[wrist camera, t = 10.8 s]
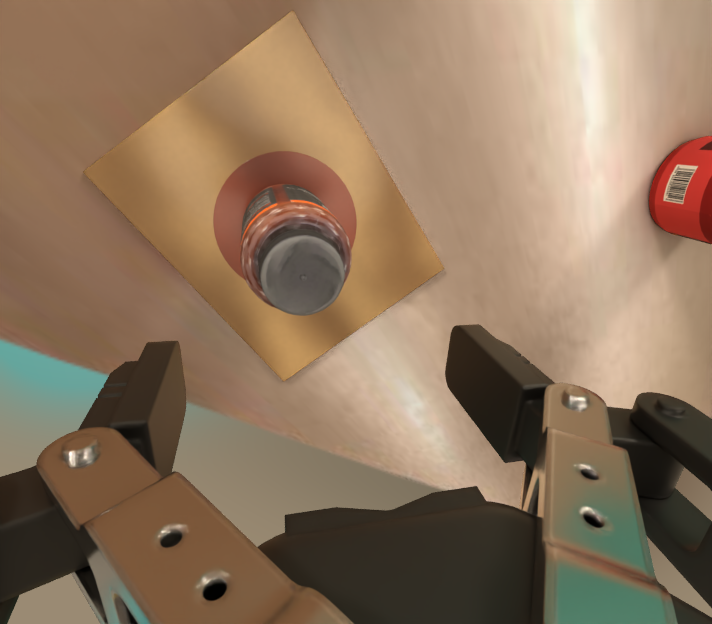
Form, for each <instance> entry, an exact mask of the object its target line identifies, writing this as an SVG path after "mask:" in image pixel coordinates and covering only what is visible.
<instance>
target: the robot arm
mask: <svg viewBox="0 0 712 624" xmlns="http://www.w3.org/2000/svg"><path fill="white" fill-rule="evenodd" d="M445 376H446V382H447V385H448V388H449V389H450V391H451V392H452V393H453V395H454V396H455V397H456V399H457V400H458V401H459V403H460V404H461V405H462V407H463V408H464V409H465V411H466V412H467V413H468V415H469V416H470V417H471V419H472V420H473V421H474V423H475V424H476V425H477V427H478V428H479V429H480V431H481V432H482V433H483V435H484V436H485V437H486V439H487V440H488V441H489V443H490V444H491V445H492V447H493V448H494V449H495V450H496V452H497V453H498V454H499V456H500V457H501V458H502V460H503V461H504V462H505V463H508V462H515V461H523V460H524V461H525V463H526V464H525V468H524V472H523V477H522V486H521V495H520V504H519V509H518V508H515V507H512V506H509V505H505V504H501V503H495V502H488V501H486V500H485V499H484V497H483V495H482V494H481V492H480V491H479V489H478V487H477V486H474V487H468V488H461V489H454V490H448V491H442V492H435V493H431V494H429V495H427V496H424V497H422V498H420V499H417V500H415V501H412V502H410V503H408V504H405V505H403V506H400V507H398V508H396V509H393V510H388V511H382V510H367V509H353V508H338V507H336V508H329V509H322V510H315V511H309V512H302V513H295V514H289V515H285V533H283V534H280V535H278V536H276V537H274V538H272V539H270V540H268V541H266V542H265V543H263V544H261V545H260V546H259V547H256V546H255V545H254V544H253V543H252V542H251V541H250V540H249V539H248V538H247V537H246V536H245V535H244V534H243V533H242V532H241V531H240V530H239V529H238V528H237V527H236V526H235V525H234V524H233V523H232V522H231V521H229V520H228V519H227V518H226V517H225V516H224V515H223V514H222V513H221V512H220V511H219V510H218V509H217V508H216V507H215V506H214V505H213V504H212V503H211V502H210V501H209V500H208V499H207V498H206V497H205V496H204V495H203V494H202V493H200V492H199V491H198V490H197V489H196V488H195V487H194V486H193V485H192V484H191V483H190V482H189V481H188V480H187V479H186V478H185V477H184V476H183V475H182V474H180V473H178V472H172V468H173V463H174V459H175V455H176V450H177V446H178V442H179V437H180V433H181V429H182V425H183V420H184V416H185V411H186V389H185V381H184V374H183V366H182V358H181V351H180V345H179V342H178V341H163V342H148V343H147V344H146V346H145V348H144V350H143V352H142V354H141V356H140V358H139V360H138V361H131V362H125V363H124V364H122V365H121V366H120V367H118V368H117V369H116V370H114V371H113V372H111V374H110V375H109V377H108V379H107V381H106V382H105V384H104V388H102V389H101V391H100V393H99V394H98V398H96V400H95V402H94V403H93V405H92V407H91V408H90V410H89V412H88V414H87V415H86V417H85V419H84V421H83V422H82V424H81V426H80V428H79V429H78V431H75V432H72V433H69V434H67V435H65V436H63V437H61V438H59V439H57V440H56V441H54V442H53V443H51V444H50V445H49V446H47V447H46V448H45V449H44V450H43V451H42V453H41V454H40V455H39V457H38V459H37V465H36V466H34V467H31V468H28V469H25V470H22V471H19V472H16V473H12V474H9V475H6V476H2V477H0V624H7V623H8V620H9V618H10V616H11V613H12V611H13V609H14V606H15V604H16V602H17V599H18V597H19V595H20V594H22V593H25V592H27V591H30V590H32V589H34V588H37V587H39V586H41V585H44V584H46V583H49V582H51V581H53V580H56V579H58V578H61V577H63V576H65V575H68V574H70V573H71V574H72V575H73V577H74V579H75V581H76V583H77V584H78V586H79V588H80V590H81V591H82V593H83V595H84V596H85V598H86V600H87V602H88V603H89V605H90V607H91V608H92V610H93V612H94V614H95V615H96V617H97V619H98V621H99V622H100V624H712V618H711V617H709V616H708V615H706V614H705V613H703V612H701V611H699V610H698V609H696V608H694V607H692V606H691V605H689V604H687V603H685V602H684V601H682V600H680V599H679V598H677V597H675V596H673V595H672V594H670V593H669V592H668V591H667V589H666V588H665V587H664V586H663V585H661V584H659V582H658V581H657V579H656V576H655V573H654V568H653V564H652V559H651V555H650V550H649V546H648V541H647V536H648V538H649V539H650V540H651V541H652V542H653V543H654V544H655V545H656V547H657V548H658V549H659V550H660V551H661V552H662V553H663V554H664V555H665V556H666V557H667V559H668V560H669V561H670V562H671V563H672V564H673V565H674V566H675V568H676V569H677V570H678V571H679V572H680V573H681V574H682V575H683V576H684V578H686V580H687V581H688V582H689V583H690V584H691V585H692V587H693V588H694V589H695V590H696V591H697V592H698V593H699V594H700V595H701V597H702V598H703V599H704V600H705V601H706V602H707V603H708V604H709V606H711V608H712V521H711V520H710V519H708V518H707V517H706V516H705V515H704V514H703V513H702V512H701V511H700V510H699V509H697V508H696V507H695V506H694V505H693V504H692V503H691V502H690V501H689V500H687V498H685V497H684V496H683V495H682V494H681V493H680V492H679V491H678V490H677V489H675V486H676V484H677V482H678V479H679V477H680V475H681V473H682V471H683V469H684V467H685V468H686V469H688V470H689V471H690V472H691V473H692V474H694V475H695V476H696V477H697V478H698V479H699V480H701V481H702V482H703V483H704V484H705V485H707V486H708V487H709V488H710V489H711V491H712V419H711V418H709V417H708V416H706V415H705V414H703V413H702V412H700V411H699V410H697V409H696V408H695V407H693V406H691V405H690V404H688V403H686V402H684V401H682V400H680V399H677V398H674V397H671V396H668V395H664V394H660V393H652V392H647V393H641V394H639V395H638V396H637V398H636V400H635V403H634V406H633V409H623V408H614V407H607V406H606V403H605V402H604V400H603V399H602V398H601V397H599V396H598V395H597V394H595V393H594V392H592V391H590V390H588V389H585V388H583V387H580V386H577V385H573V384H567V383H554V382H553V381H552V380H551V379H549V378H548V377H547V376H546V375H545V374H544V373H542V372H541V371H540V370H539V369H538V368H536V367H535V366H534V365H533V364H530V362H529V361H528V360H527V359H526V358H525V357H523V356H521V354H520V353H519V352H518V351H516V350H515V349H514V348H513V347H512V346H510V345H508V344H506V343H504V342H502V341H500V340H498V339H496V338H495V337H493V336H492V335H491V334H490V333H489V332H488V331H487V330H485V329H484V328H483V327H482V326H481V325H478V324H477V325H459V326H455V327H454V328H453V329H452V332H451V337H450V343H449V350H448V357H447V363H446V370H445ZM171 472H172V473H171ZM646 535H647V536H646Z"/></svg>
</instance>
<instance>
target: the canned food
mask: <svg viewBox="0 0 712 624" xmlns="http://www.w3.org/2000/svg"><path fill="white" fill-rule="evenodd" d="M649 208H650V212H651V216H652V218H653V219H654V221H655V222H656V223H657V224H658V225H659V226H660V227H661V228H662V229H664V230H665V231H667V232H669V233H671V234H674V235H678V236H682V237H686V238H689V239H693V240H697V241H701V242H705V243H708V244H712V136H706V137H702V138H698V139H695V140H691V141H688V142H686V143H684V144H682V145H681V146H679V147H678V148H677V149H675V150H674V151H673V152H672V153H671V154H670V155H669V156H668V157H667V158H666V159H665V161H664V162H663V163H662V165H661V166H660V168H659V169H658V171H657V173H656V175H655V177H654V180H653V182H652V186H651V190H650V196H649Z"/></svg>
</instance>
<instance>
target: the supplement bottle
mask: <svg viewBox="0 0 712 624" xmlns="http://www.w3.org/2000/svg"><path fill="white" fill-rule="evenodd" d="M351 261H352V253H351V246H350V242H349V239H348V236H347V234H346V232H345V230H344V228H343V227H342V225H341V224H340V222H339V221H338V220H337V219H336V218H335V216H334V215H333V214H332V213H331V212H330V211H329V210H328V209H327V208H326V206H325V205H324V204H323V203H322V202H321V201H320V200H319V199H318V198H317V197H316V196H315V195H314V194H313V193H312V192H310V191H308V190H307V189H305V188H303V187H300V186H298V185H293V184H277V185H273V186H269V187H267V188H265V189H263V190H262V191H260V192H259V193H258V194H257V195H255V196H254V198H253V199H252V200H251V201H250V203H249V205H248V206H247V208H246V210H245V213H244V216H243V222H242V233H241V244H240V262H241V268H242V272H243V275H244V278H245V280H246V283H247V284H248V286H249V287H250V289H251V290H252V291H253V292H254V293H255V295H257V297H258V298H260V299H261V300H262V301H263V302H265V303H267V304H268V305H270V306H271V307H274V308H277V309H279V310H281V311H283V312H285V313H288V314H292V315H300V316H306V315H312V314H315V313H318V312H320V311H322V310H324V309H326V308H327V307H329V306H330V305H331V304H332V303H333V302H334V301H335V300H336V298H337V297H338V296H339V294H340V292H341V290H342V287H343V285H344V283H345V282H346V280H347V278H348V275H349V272H350V268H351Z"/></svg>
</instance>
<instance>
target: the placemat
mask: <svg viewBox="0 0 712 624" xmlns="http://www.w3.org/2000/svg"><path fill="white" fill-rule="evenodd" d="M83 173H84V174H85V175H86V176H87V177H88V178H89V179H90V180H91V181H92V182H93V183H94V184H95V185H96V186H97V187H98V188H99V189H100V190H101V192H102V193H103V194H104V195H105V196H106V197H107V198H108V199H109V200H110V201H111V202H112V203H113V204H114V205H115V206H116V207H117V208H118V209H119V210H120V211H121V212H122V213H123V214H124V215H125V217H126V218H127V219H128V220H129V221H130V222H131V223H132V224H133V225H134V226H135V227H136V228H137V229H138V230H139V231H140V232H141V233H142V234H143V235H144V236H145V237H146V238H147V239H148V241H149V242H150V243H151V244H152V245H153V246H154V247H155V248H156V249H157V250H158V251H159V252H160V253H161V254H162V255H163V256H164V257H165V258H166V259H167V260H168V261H169V262H170V263H171V264H172V266H173V267H174V268H175V269H176V270H177V271H178V272H179V273H180V274H181V275H182V276H183V277H184V278H185V279H186V280H187V281H188V282H189V283H190V284H191V285H192V286H193V287H194V288H195V289H196V291H197V292H198V293H199V294H200V295H201V296H202V297H203V298H204V299H205V300H206V301H207V302H208V303H209V304H210V305H211V306H212V307H213V308H214V309H215V310H216V311H217V312H218V313H219V315H220V316H221V317H222V318H223V319H224V320H225V321H226V322H227V323H228V324H229V325H230V326H231V327H232V328H233V329H234V330H235V331H236V332H237V333H238V334H239V335H240V336H241V337H242V338H243V340H244V341H245V342H246V343H247V344H248V345H249V346H250V347H251V348H252V349H253V350H254V351H255V352H256V353H257V354H258V355H259V356H260V357H261V358H262V359H263V360H264V361H265V362H266V364H267V365H268V366H269V367H270V368H271V369H272V370H273V371H274V372H275V373H276V374H277V375H278V376H279V377H280V378H281V379H282V380H283V381H285V380H287V379H288V378H289V377H291V376H292V375H294V374H295V373H297V372H298V371H299V370H301V369H302V368H304V367H305V366H306V365H308V364H309V363H311V362H312V361H314V360H315V359H316V358H318V357H319V356H321V355H322V354H324V353H325V352H326V351H328V350H329V349H331V348H332V347H333V346H335V345H336V344H338V343H339V342H341V341H342V340H343V339H345V338H346V337H348V336H349V335H351V334H352V333H353V332H355V331H356V330H358V329H359V328H360V327H362V326H363V325H365V324H366V323H368V322H369V321H370V320H372V319H373V318H375V317H376V316H377V315H379V314H380V313H382V312H383V311H385V310H386V309H387V308H389V307H390V306H392V305H393V304H395V303H396V302H397V301H399V300H400V299H402V298H403V297H404V296H406V295H407V294H409V293H410V292H412V291H413V290H414V289H416V288H417V287H419V286H420V285H422V284H423V283H424V282H426V281H427V280H429V279H430V278H431V277H433V276H434V275H436V274H437V273H439V272H440V271H441V270H443V269H444V267H443V265H442V264H441V262H440V260H439V259H438V257H437V255H436V253H435V252H434V250H433V248H432V247H431V245H430V243H429V241H428V240H427V238H426V236H425V235H424V233H423V231H422V229H421V228H420V226H419V224H418V223H417V221H416V219H415V218H414V216H413V214H412V212H411V211H410V209H409V207H408V206H407V204H406V202H405V200H404V199H403V197H402V195H401V194H400V192H399V190H398V189H397V187H396V185H395V183H394V182H393V180H392V178H391V177H390V175H389V173H388V171H387V170H386V168H385V166H384V165H383V163H382V161H381V159H380V158H379V156H378V154H377V153H376V151H375V149H374V148H373V146H372V144H371V142H370V141H369V139H368V137H367V136H366V134H365V132H364V130H363V129H362V127H361V125H360V124H359V122H358V120H357V119H356V117H355V115H354V113H353V112H352V110H351V108H350V107H349V105H348V103H347V101H346V100H345V98H344V96H343V95H342V93H341V91H340V89H339V88H338V86H337V84H336V83H335V81H334V79H333V78H332V76H331V74H330V72H329V71H328V69H327V67H326V66H325V64H324V62H323V60H322V59H321V57H320V55H319V54H318V52H317V50H316V49H315V47H314V45H313V43H312V42H311V40H310V38H309V37H308V35H307V33H306V31H305V30H304V28H303V26H302V25H301V23H300V21H299V19H298V18H297V16H296V14H295V13H294V11H293V10H292V11H291V12H290V13H289V14H287V15H286V16H285V17H283V18H282V19H281V20H279V21H278V22H277V23H276V24H274V25H273V26H272V27H270V28H269V29H268V30H267V31H265V32H264V33H263V34H261V35H260V36H259V37H257V38H256V39H255V40H254V41H252V42H251V43H250V44H248V45H247V46H246V47H244V48H243V49H242V50H241V51H239V52H238V53H237V54H235V55H234V56H233V57H231V58H230V59H229V60H228V61H226V62H225V63H224V64H222V65H221V66H220V67H218V68H217V69H216V70H215V71H213V72H212V73H211V74H209V75H208V76H207V77H206V78H204V79H203V80H202V81H200V82H199V83H198V84H196V85H195V86H194V87H193V88H191V89H190V90H189V91H187V92H186V93H185V94H183V95H182V96H181V97H180V98H178V99H177V100H176V101H174V102H173V103H172V104H170V105H169V106H168V107H167V108H165V109H164V110H163V111H161V112H160V113H159V114H157V115H156V116H155V117H154V118H152V119H151V120H150V121H148V122H147V123H146V124H144V125H143V126H142V127H141V128H139V129H138V130H137V131H135V132H134V133H133V134H132V135H130V136H129V137H128V138H126V139H125V140H124V141H122V142H121V143H120V144H119V145H117V146H116V147H115V148H113V149H112V150H111V151H109V152H108V153H107V154H106V155H104V156H103V157H102V158H100V159H99V160H98V161H96V162H95V163H94V164H93V165H91V166H90V167H89V168H87V169H86V170H85V171H83ZM277 184H293V185H298V186H300V187H303V188H305V189H307V190H308V191H310V192H312V193H313V194H314V195H315V196H316V197H317V198H318V199H319V200H320V201H321V202H322V203H323V204H324V205H325V206H326V208H327V209H328V210H329V211H330V212H331V213H332V214H333V215H334V216H335V218H336V219H337V220H338V221H339V222H340V224H341V225H342V227H343V228H344V230H345V232H346V234H347V236H348V239H349V242H350V246H351V253H352V261H351V268H350V272H349V275H348V278H347V280H346V282H345V283H344V285H343V287H342V290H341V292H340V294H339V296H338V297H337V298H336V300H335V301H334V302H333V303H332V304H331V305H330V306H329V307H327V308H326V309H324V310H322V311H320V312H318V313H315V314H312V315H306V316H300V315H292V314H288V313H285V312H283V311H281V310H279V309H277V308H274V307H271V306H270V305H268V304H267V303H265V302H263V301H262V300H261V299H260V298H258V297H257V295H255V293H254V292H253V291H252V290H251V289H250V287H249V286H248V284H247V283H246V280H245V278H244V275H243V272H242V268H241V262H240V244H241V233H242V222H243V216H244V213H245V210H246V208H247V206H248V205H249V203H250V201H251V200H252V199H253V198H254V196H255V195H257V194H258V193H259V192H260V191H262V190H263V189H265V188H267V187H269V186H273V185H277Z"/></svg>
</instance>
